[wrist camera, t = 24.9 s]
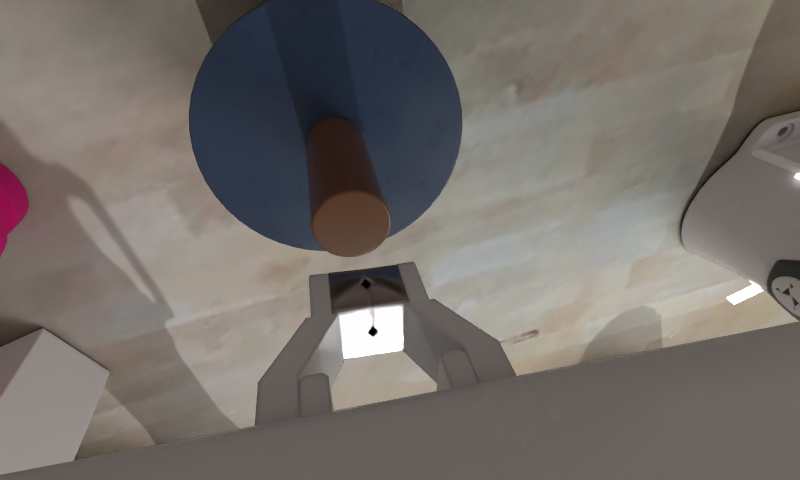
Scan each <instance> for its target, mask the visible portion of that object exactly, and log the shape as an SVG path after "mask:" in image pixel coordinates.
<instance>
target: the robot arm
mask: <svg viewBox="0 0 800 480" xmlns="http://www.w3.org/2000/svg"><path fill="white" fill-rule="evenodd" d="M681 238H682V243H683V245H684V247H685V248H686V250H687V251H688V252H690V253H691V254H693V255H695V256H698V257H701V258H703V259H706V260H708V261H710V262H712V263H715V264H717V265H719V266H721V267H723V268H725V269H727V270H729V271H730V272H732V273H734V274H736V275H738V276H740V277H741V278H743V279H745V280H747V281H748V282H750V283H752V284H753V285H751V286H749V287H747V288H745V289H743V290H741V291H739V292H737V293H735V294H733V295H731V296H729V297H727V299H728V300H729V301H730V302H731V303H732V304H734V305H735V304H737V303H739V302H741V301H743V300H745V299H747V298H749V297H751V296H753V295H755V294H757V293H759V292H761V291H765V292H766V293H768V294H770V295H771V296H772V297H773V298H774V299H775V300H776V301H777V302H778V303H779V304H780V305H781V306H782V307H783V308H784V309H785V310H786V311H787V312H789V313H790V314H791V315H792V316H793V317H795V318H796V319H797V320H799V321H800V111H797V112H793V113H789V114H784V115H780V116H776V117H772V118H769V119H766V120H764V121H763V122H761V123H760V124H759V125H758V126H757V127H756V128H755V129H754V130H753V131H752V133H751V134H750V135H749V136H748V138H747V139H746V140H745V142H744V143H743V145H742V146H741V148H740V149H739V150H738V152H737V153H736V154H735V155H734V156H733V157H732V158H731V159H730V160H729V161H728V162H726V163H725V164H724V165H723V166H722V167H721V168H720V169H719V170H718V171H717V172H716V173H715V174H714V175H713V176H712V177H711V178H710V179H709V180H708V181H707V182H706V183H705V184H704V186H703V187H702V188H701V189H700V191H699V192H698V193H697V195H696V196H695V198H694V199H693V201H692V203H691V204H690V206H689V208H688V210H687V212H686V215H685V217H684V220H683V224H682V229H681ZM328 278H329V281H328ZM329 287H330V288H329ZM309 289H310V306H311V317H310V318H306V319H305V320H304V321H303V323H302V324H301V325H300V327H299V328H298V329H297V331H296V332H295V333H294V335H293V336H292V338H291V339H290V340H289V342H288V343H287V344H286V346H285V347H284V348H283V350H282V351H281V352H280V354H279V355H278V356H277V358H276V359H275V360H274V362H273V363H272V364H271V366H270V367H269V368H268V370H267V371H266V372H265V374H264V375H263V376H262V378H261V379H260V380H259V382H258V391H257V404H256V418H255V426H252V427H247V428H242V429H237V430H231V431H226V432H221V433H216V434H210V435H205V436H200V437H195V438H190V439H184V440H179V441H174V442H169V443H163V444H158V445H153V446H148V447H143V448H137V449H132V450H127V451H122V452H116V453H111V454H106V455H101V456H96V457H90V458H85V459H80V460H75V461H70V462H64V463H59V464H54V465H49V466H43V467H38V468H33V469H28V470H23V471H17V472H12V473H7V474H2V475H0V480H800V322H794V323H789V324H784V325H779V326H774V327H769V328H764V329H759V330H754V331H748V332H743V333H738V334H733V335H728V336H722V337H717V338H712V339H707V340H701V341H696V342H691V343H686V344H681V345H675V346H670V347H665V348H660V349H655V350H649V351H644V352H639V353H634V354H628V355H623V356H618V357H613V358H608V359H602V360H597V361H592V362H587V363H581V364H576V365H571V366H566V367H560V368H555V369H550V370H545V371H540V372H534V373H529V374H524V375H519V376H516V374H515V372H514V370H513V368H512V366H511V364H510V362H509V360H508V358H507V356H506V354H505V352H504V351H503V349H502V347H501V345H500V343H499V341H498V340H496V339H495V338H493V337H492V336H490V335H489V334H487V333H485V332H484V331H482V330H481V329H479V328H478V327H476V326H475V325H473V324H472V323H470V322H469V321H467V320H466V319H464V318H463V317H461V316H459V315H458V314H456V313H455V312H453V311H452V310H450V309H449V308H447V307H446V306H444V305H443V304H441V303H440V302H438V301H437V300H435V299H430V300H429V298H428V295H427V293H426V290H425V288H424V285H423V282H422V280H421V277H420V275H419V272H418V270H417V267H416V265H415V263H414V262H408V263H401V264H396V265H390V266H383V267H376V268H369V269H361V270H352V271H343V272H334V273H328V274H318V275H310V276H309ZM398 350H403V351H404V352H405V353H406V354H407V355H408V356H409V357H410V358H411V359H412V360H413V361H414V362H415V363H416V364H417V365H418V366H420V367H421V368H422V369H423V370H424V371H425V372H426V373H427V374H428V375H429V376H430V377H431V378H432V379H433V380H434V381H435V382H436V383H437V391H435V392H430V393H425V394H419V395H414V396H409V397H404V398H398V399H393V400H388V401H383V402H377V403H372V404H367V405H362V406H357V407H351V408H346V409H341V410H336V411H334V408H333V402H332V395H331V387H332V385H333V383H334V381H335V379H336V377H337V375H338V373H339V371H340V369H341V367H342V365H343V363H344V360H346V359H351V358H356V357H361V356H366V355H371V354H377V353H384V352H391V351H398Z"/></svg>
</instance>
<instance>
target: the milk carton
mask: <svg viewBox="0 0 800 480" xmlns="http://www.w3.org/2000/svg"><path fill="white" fill-rule="evenodd" d="M109 374H110V372H109V371H108V370H106V369H105V368H103V367H102V366H100V365H99V364H97V363H96V362H94V361H93V360H91V359H90V358H88V357H87V356H85V355H84V354H82V353H80V352H79V351H77V350H76V349H74V348H73V347H71V346H70V345H68V344H67V343H65V342H64V341H62V340H61V339H59V338H57V337H56V336H54V335H53V334H51V333H50V332H48V331H47V330H45V329H39V330H37V331H35V332H33V333H30V334H28V335H26V336H24V337H21V338H19V339H17V340H15V341H13V342H10V343H8V344H6V345H4V346H2V347H0V475H2V474H7V473H12V472H17V471H23V470H28V469H33V468H38V467H43V466H49V465H54V464H59V463H64V462H70V461H74V459H75V456H76V454H77V451H78V449H79V447H80V444H81V442H82V439H83V437H84V434H85V432H86V430H87V427H88V425H89V422H90V420H91V418H92V415H93V413H94V410H95V408H96V405H97V403H98V401H99V398H100V396H101V393H102V391H103V388H104V386H105V384H106V381H107V379H108V376H109Z"/></svg>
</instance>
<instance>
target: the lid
mask: <svg viewBox="0 0 800 480" xmlns="http://www.w3.org/2000/svg"><path fill="white" fill-rule="evenodd" d="M189 131H190V137H191V143H192V148H193V152H194V155H195V158H196V161H197V164H198V167H199V169H200V171H201V173H202V175H203V177H204V179H205V181H206V183H207V184H208V186H209V187H210V189H211V190H212V192H213V193H214V195H215V196H216V197H217V199H218V200H219V201H220V202H221V203H222V204H223V205H224V207H225V208H226V209H227V210H228V211H229V212H230V213H232V214H233V215H234V216H235V217H236V218H237V219H238V220H239V221H241V222H242V223H244V224H245V225H247V226H248V227H249V228H251V229H252V230H254V231H256V232H258V233H260V234H261V235H263V236H265V237H267V238H270V239H272V240H274V241H277V242H279V243H282V244H286V245H289V246H293V247H296V248H302V249H308V250H318V251H328V252H329V253H332V254H334V255H337V256H342V257H355V256H360V255H364V254H366V253H369V252H371V251H373V250H374V249H376V248H377V247H378V246H379V245H380V244H381V243H382V242H383V241H384V240H385V239H386V238H388V237H390V236H392V235H394V234H396V233H398V232H399V231H401V230H402V229H404V228H406V227H407V226H409V225H410V224H411V223H412V222H414V221H415V220H416V219H418V218H419V217H420V216H421V215H422V214H423V213H424V212H425V211H426V210H427V209H428V208H429V207H430V206H431V205H432V203H433V202H434V201H435V200H436V199H437V197H438V196H439V194H440V193H441V191H442V190H443V188H444V187H445V185H446V184H447V181H448V179H449V177H450V175H451V173H452V171H453V169H454V166H455V163H456V160H457V157H458V153H459V148H460V143H461V135H462V109H461V103H460V98H459V92H458V89H457V86H456V83H455V80H454V77H453V75H452V72H451V70H450V68H449V66H448V64H447V62H446V60H445V59H444V57H443V56H442V54H441V53H440V51H439V50H438V48H437V47H436V45H435V44H434V43H433V42H432V41H431V39H430V38H429V37H428V36H427V35H426V34H425V33H424V32H423V31H422V30H421V29H420V28H419V27H418V26H417V25H415V24H414V23H413V22H412V21H411V20H409V19H408V18H407V17H406V16H404V15H402V14H401V13H399V12H398V11H396V10H394V9H393V8H391V7H389V6H388V5H386V4H383V3H381V2H379V1H376V0H269V1H266V2H264V3H263V4H261V5H259V6H257V7H255V8H253V9H252V10H250V11H248V12H247V13H245V14H244V15H243V16H241V17H240V18H239V19H238V20H236V21H235V22H234V23H232V24H231V25H230V26H229V27H228V28H227V30H226V31H225V32H224V33H223V34H222V35H221V36H220V37H219V38H218V39H217V41H216V42H215V44H214V45H213V46H212V48H211V49H210V51H209V52H208V54H207V55H206V57H205V59H204V61H203V63H202V65H201V67H200V69H199V72H198V74H197V76H196V79H195V83H194V86H193V90H192V94H191V100H190V109H189Z"/></svg>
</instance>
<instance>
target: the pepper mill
mask: <svg viewBox="0 0 800 480" xmlns="http://www.w3.org/2000/svg"><path fill="white" fill-rule="evenodd" d="M27 210H28V198H27V194H26V191H25V189H24V187H23V186H22V184H21V183H20V181H19V180H18V178H17V177H16V176H15V175H14V174H13V173H12V172H10V171H9V170H8V169H7V168H6V167H5V166H3V165H2V164H0V256H1V254H2V253H3V251H4V249H5V246H6V243H7V235H8V234H9V233H10V232H11V231H12V230H13V229H14V228H15V227H16V226H17V225H18V224H19V223H20V221H21V220H22V219H23V218H24V216H25V215H26V213H27Z"/></svg>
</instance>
